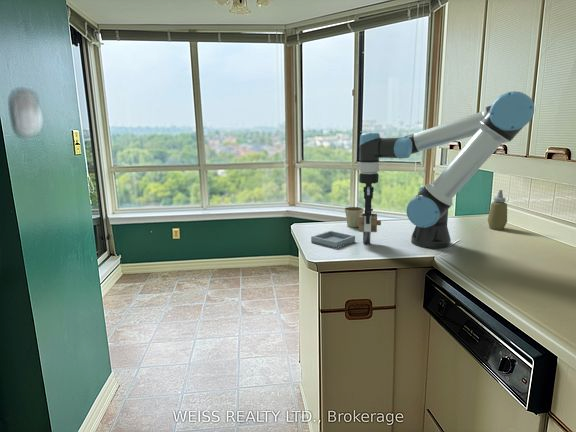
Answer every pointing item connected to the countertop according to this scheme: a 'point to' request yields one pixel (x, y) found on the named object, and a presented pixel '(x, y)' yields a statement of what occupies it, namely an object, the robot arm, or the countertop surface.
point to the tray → (332, 239)
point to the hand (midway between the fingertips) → (367, 228)
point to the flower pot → (353, 216)
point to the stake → (366, 237)
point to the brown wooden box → (373, 222)
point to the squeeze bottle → (498, 212)
